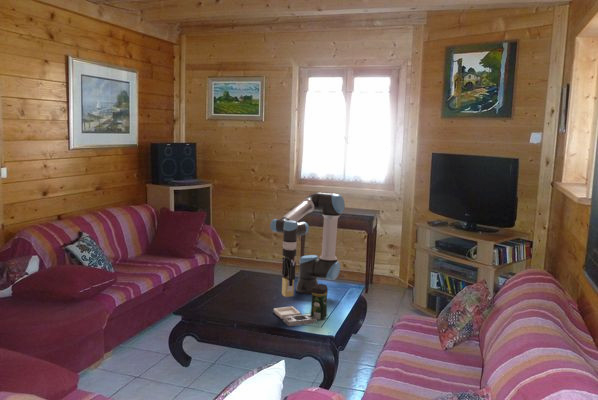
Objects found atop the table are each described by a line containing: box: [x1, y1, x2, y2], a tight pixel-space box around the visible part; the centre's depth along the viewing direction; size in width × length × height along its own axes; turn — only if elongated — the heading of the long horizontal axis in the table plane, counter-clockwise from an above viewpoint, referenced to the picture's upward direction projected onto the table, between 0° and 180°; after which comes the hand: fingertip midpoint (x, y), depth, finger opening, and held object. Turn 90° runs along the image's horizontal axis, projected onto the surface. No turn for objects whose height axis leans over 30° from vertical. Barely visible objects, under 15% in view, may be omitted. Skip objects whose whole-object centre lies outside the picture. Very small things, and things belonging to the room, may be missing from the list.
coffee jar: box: [310, 283, 328, 321], centre depth 286 cm, size 10×8×19 cm
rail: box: [282, 313, 317, 327], centre depth 279 cm, size 16×8×2 cm, turn 114°
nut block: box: [281, 276, 295, 298], centre depth 288 cm, size 5×5×10 cm
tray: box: [273, 305, 302, 320], centre depth 290 cm, size 12×12×2 cm
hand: (287, 289), depth 288 cm, fingers closed on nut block, 5 cm apart
